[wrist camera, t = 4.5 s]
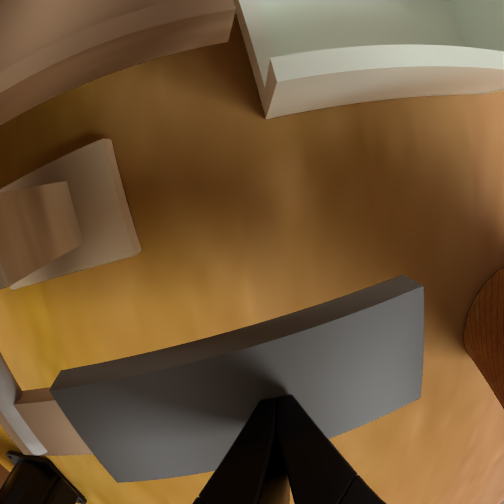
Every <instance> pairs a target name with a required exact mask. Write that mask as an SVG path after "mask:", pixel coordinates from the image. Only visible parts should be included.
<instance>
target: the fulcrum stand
mask: <svg viewBox="0 0 504 504" xmlns="http://www.w3.org/2000/svg"><path fill="white" fill-rule="evenodd" d="M141 251H142V250H141V247H140V243H139V240H138V237H137V234H136V231H135V227H134V224H133V221H132V217H131V214H130V210H129V207H128V203H127V200H126V196H125V193H124V189H123V185H122V182H121V178H120V174H119V170H118V166H117V162H116V158H115V154H114V150H113V145H112V141H111V139H104V138H103V139H100V140H98V141H96V142H93V143H91V144H89V145H86V146H84V147H82V148H80V149H77V150H75V151H73V152H71V153H69V154H66V155H64V156H62V157H60V158H58V159H56V160H54V161H52V162H50V163H48V164H46V165H44V166H42V167H40V168H38V169H36V170H34V171H32V172H30V173H28V174H27V175H25V176H23V177H21V178H19V179H17V180H16V181H14V182H12V183H10V184H8V185H7V186H5V187H3V188H2V189H0V289H2V288H6V287H9V286H10V288H11V290H15V289H18V288H21V287H25V286H28V285H32V284H35V283H38V282H42V281H45V280H49V279H52V278H56V277H59V276H63V275H67V274H70V273H74V272H77V271H81V270H84V269H88V268H92V267H95V266H99V265H103V264H106V263H110V262H114V261H117V260H121V259H125V258H129V257H132V256H136V255H137V254H138V253H139V252H141Z"/></svg>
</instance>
